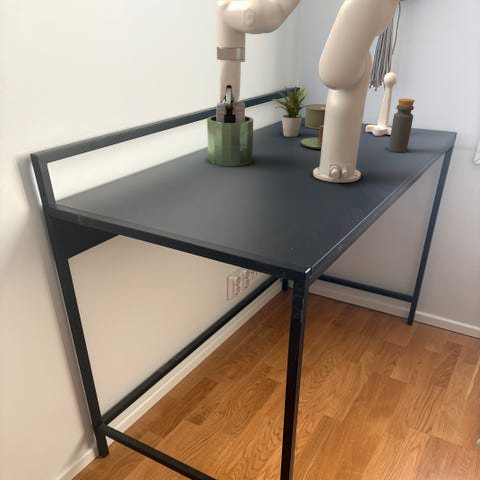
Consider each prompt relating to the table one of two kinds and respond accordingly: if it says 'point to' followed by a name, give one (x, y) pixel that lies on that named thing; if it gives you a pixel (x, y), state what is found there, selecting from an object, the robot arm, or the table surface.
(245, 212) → the table surface
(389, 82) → the joystick
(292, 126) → the house plant
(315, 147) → the lid
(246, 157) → the pot
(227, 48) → the robot arm
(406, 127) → the bottle
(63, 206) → the table surface
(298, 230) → the table surface
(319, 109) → the can
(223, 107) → the medicine box
